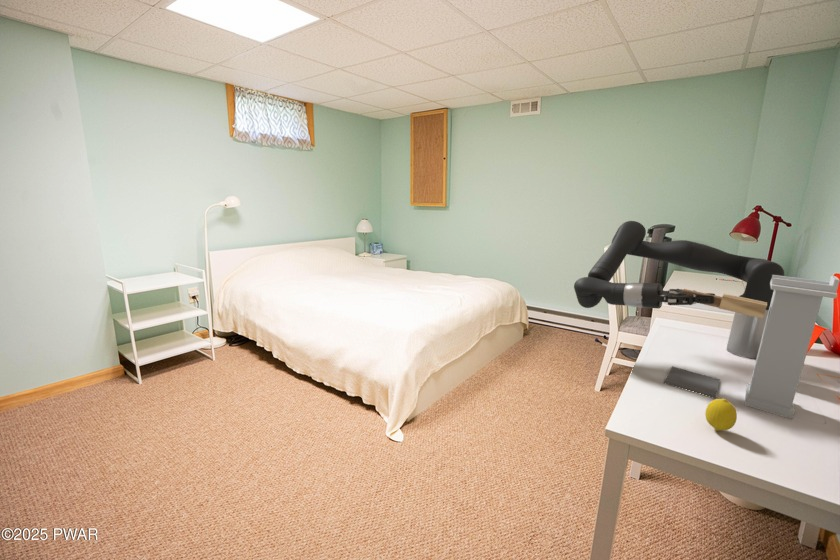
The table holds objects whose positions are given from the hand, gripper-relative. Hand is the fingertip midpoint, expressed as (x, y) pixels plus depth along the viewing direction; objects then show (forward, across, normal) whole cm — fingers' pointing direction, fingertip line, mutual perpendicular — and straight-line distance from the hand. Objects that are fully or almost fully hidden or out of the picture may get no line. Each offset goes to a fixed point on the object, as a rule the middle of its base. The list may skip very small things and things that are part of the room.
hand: (714, 298), depth 104 cm
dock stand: (+12, 0, -28) cm, 30 cm away
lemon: (+3, +25, -26) cm, 36 cm away
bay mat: (-5, 0, -25) cm, 26 cm away
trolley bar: (+1, 0, -2) cm, 3 cm away
